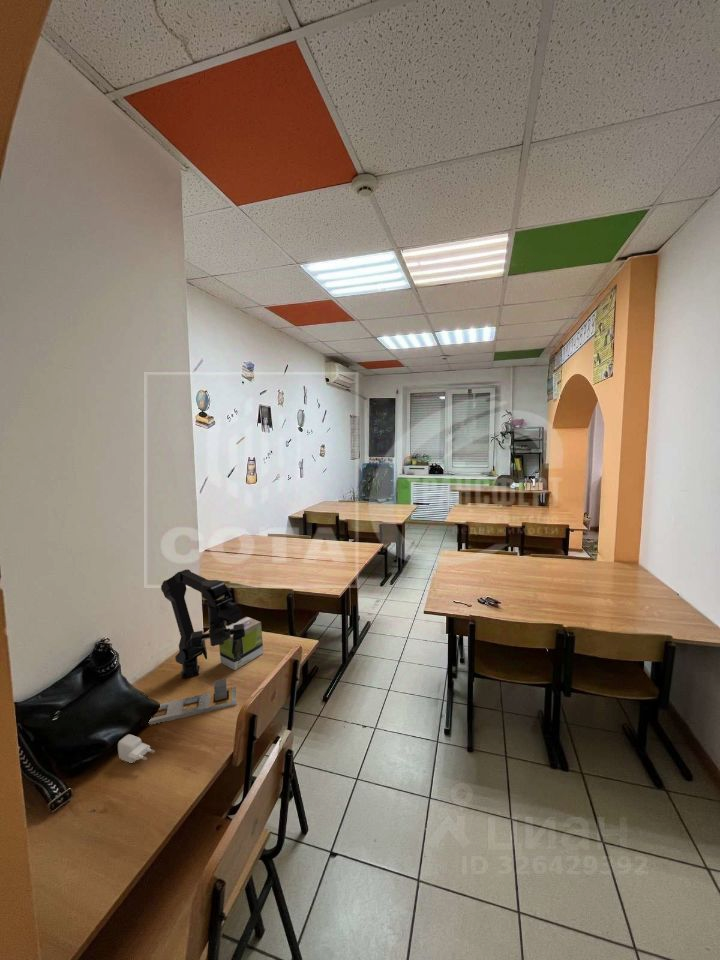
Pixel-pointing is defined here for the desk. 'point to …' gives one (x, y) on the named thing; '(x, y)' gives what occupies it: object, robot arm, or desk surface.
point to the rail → (204, 706)
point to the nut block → (220, 690)
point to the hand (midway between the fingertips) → (219, 656)
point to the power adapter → (132, 748)
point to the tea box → (243, 645)
